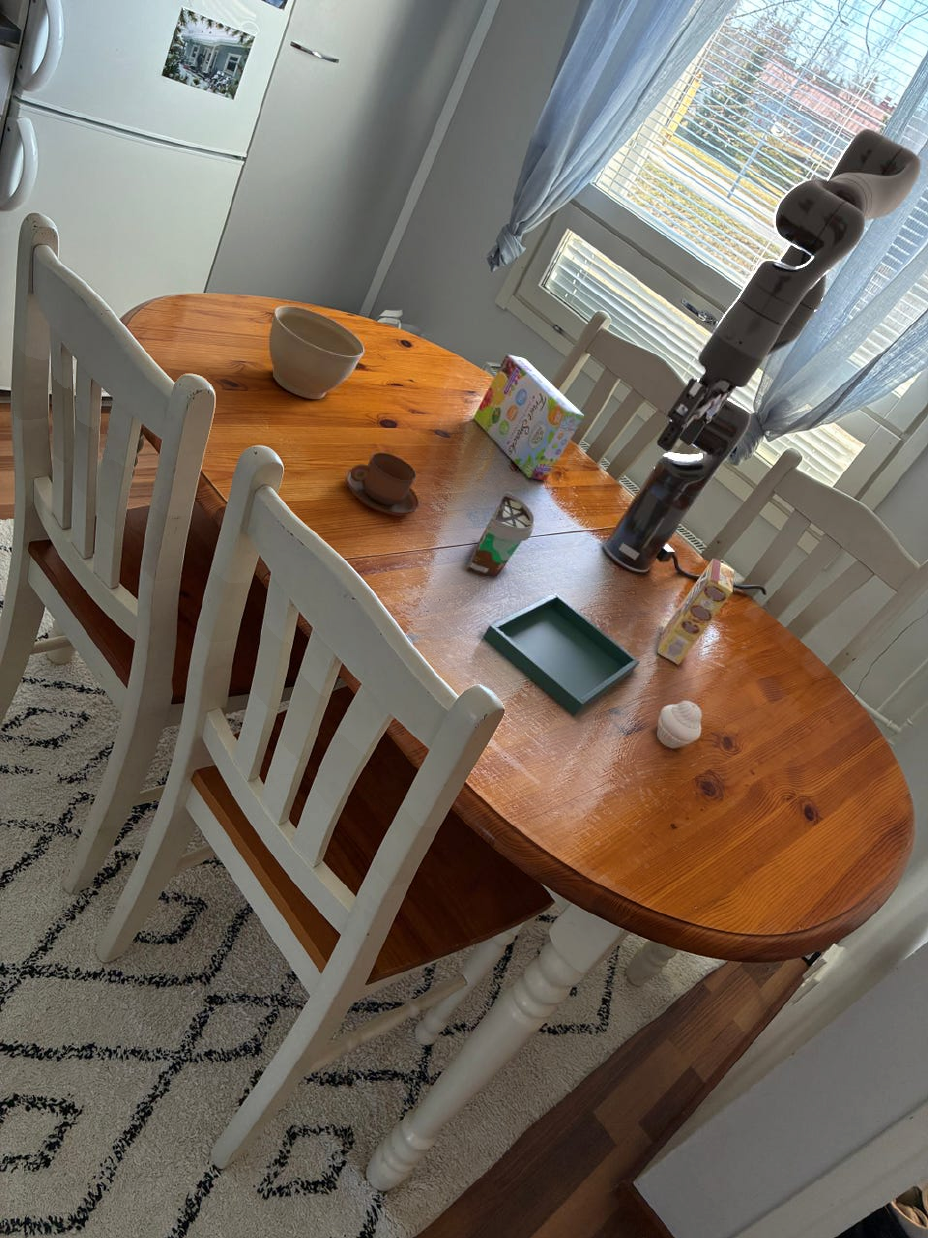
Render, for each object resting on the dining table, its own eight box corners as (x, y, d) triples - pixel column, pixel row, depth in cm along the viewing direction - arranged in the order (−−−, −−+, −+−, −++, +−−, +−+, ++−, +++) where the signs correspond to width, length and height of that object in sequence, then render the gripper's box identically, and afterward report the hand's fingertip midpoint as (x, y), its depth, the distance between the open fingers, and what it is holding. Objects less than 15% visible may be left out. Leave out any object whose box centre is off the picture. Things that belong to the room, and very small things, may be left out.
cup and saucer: (370, 524, 140) (386, 490, 136) (328, 476, 145) (342, 442, 142) (427, 521, 148) (444, 489, 145) (385, 476, 154) (400, 444, 151)
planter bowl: (335, 422, 161) (359, 366, 155) (245, 382, 157) (266, 323, 151) (347, 388, 174) (369, 335, 168) (264, 350, 170) (284, 295, 165)
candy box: (678, 666, 148) (734, 593, 141) (655, 653, 149) (710, 579, 141) (682, 641, 156) (736, 570, 148) (660, 628, 156) (713, 556, 148)
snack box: (548, 481, 183) (586, 415, 175) (527, 479, 179) (566, 412, 171) (491, 420, 194) (525, 356, 186) (471, 417, 190) (504, 351, 183)
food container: (501, 593, 141) (532, 541, 136) (464, 574, 141) (494, 521, 135) (512, 557, 152) (541, 508, 146) (478, 540, 151) (507, 489, 146)
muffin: (661, 756, 127) (690, 721, 123) (640, 722, 131) (667, 687, 127) (693, 757, 130) (722, 722, 127) (671, 724, 134) (699, 690, 131)
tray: (548, 603, 145) (555, 592, 144) (631, 672, 140) (640, 661, 139) (482, 637, 129) (489, 625, 128) (573, 716, 125) (582, 704, 123)
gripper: (748, 359, 117) (676, 466, 126) (778, 356, 129) (711, 454, 137) (700, 327, 120) (633, 434, 128) (734, 326, 131) (670, 425, 140)
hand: (673, 444), depth 133 cm, fingers open, 8 cm apart
